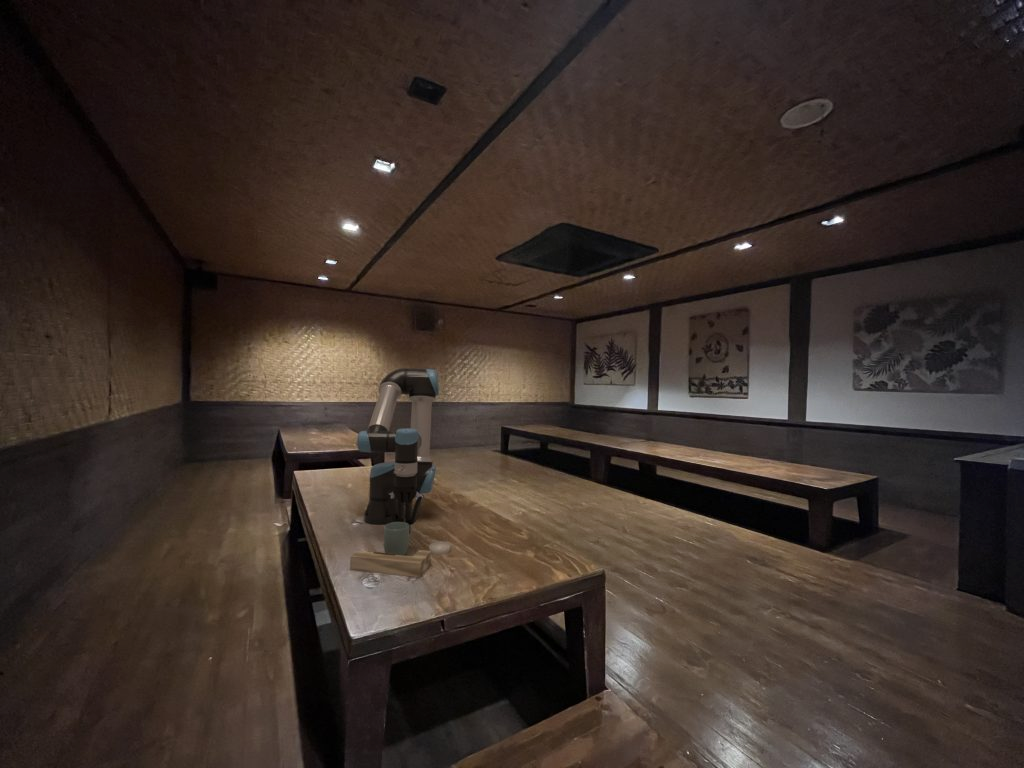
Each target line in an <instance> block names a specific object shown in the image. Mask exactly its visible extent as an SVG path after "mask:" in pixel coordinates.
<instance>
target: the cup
mask: <svg viewBox="0 0 1024 768" xmlns="http://www.w3.org/2000/svg"><path fill="white" fill-rule="evenodd" d="M409 543H410V534H409V524H408V523H406V522H392V523H388V524H384V527H383V550H384V553H392V554H396V555H402V556H406V553H407V552H408V549H409Z"/></svg>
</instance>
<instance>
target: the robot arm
mask: <svg viewBox="0 0 1024 768" xmlns="http://www.w3.org/2000/svg"><path fill="white" fill-rule="evenodd" d="M439 385H440V384H439V376H438V372H437V371H436V370H435V369H430V368H429V369H428V368H407V367H404V368H403V367H402V368H398V369H395V370H393V371H391V372H390V373H388V374H387V375H386V376H385V377H384V378H383V379H382V380H381V382H380V384H379V385H378V386H379V387H378V398H377V400H376V403H375V406H374V409H373V412H372V416H371V418H370V421H369V423H368V427H367V430H361V431H359V433H358V435H357V439H356V446H357V450H358V451H359V452H361V453H394V457H395V458H394V460H393V461H386V462H381V463H380V462H379V463H377V464H374V465H373V466H372V467H371V468H370V472H369V473H370V474H369V496H368V498H369V499H368V504H367V506H366V509H365V512H364V515H363V521H364V522H365V523H368V524H371V525H387V524H389V523H392V522H406V523H408V524H409V535H410V534H411V526H412V525H414V524H415V523H416V522H417V519H418V515H419V511H420V509H421V503H422V501H423V500H424V498H425V495H424V494H430V493H431V492H432V490H433V487H434V483H435V477H436V470H437V469H436V468H437V466H436V465H434V463H433V460H432V459H431V458H430V449H431V448H430V446H431V430H432V429H431V428H432V427H431V426H432V409H433V408H432V407H433V405H432V404H433V403H434V401H436V399H437V398H436V396H437V397H438V396H439V395H440V387H439ZM401 395H408V399H409V400H410V402H411V413H410V414H411V416H410V428H408V427H407V428H398V429H397V430H396V431H391V430H390V428H391V425H392V421H393V416H394V413H395V409H396V405H397V401H398V399H399V398H400V397H401ZM414 500H415V503H414V506H413V509H412V505H413V501H414Z"/></svg>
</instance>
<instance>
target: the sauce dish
mask: <svg viewBox="0 0 1024 768" xmlns="http://www.w3.org/2000/svg"><path fill="white" fill-rule="evenodd" d="M428 548H429V549H428V551H431V555H432V554H433V555H444V554H448V553H450V551H451V543H450V542H449V541H442V540H439V541H438V540H437V541H433V542H432V543H430V544H429V547H428Z"/></svg>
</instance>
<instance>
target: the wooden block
mask: <svg viewBox="0 0 1024 768" xmlns="http://www.w3.org/2000/svg"><path fill="white" fill-rule="evenodd" d="M349 559H350V563H349V570H350V571H357V572H366V573H367V572H368V573H369V572H370V573H377V574H387V575H394V576H395V575H396V576H403V577H404V576H405V577H413V578H414V577H416V578H421V577H422V575H423V574H424V573H425V572H426V570H427V569H428V568H429V567H430V566H431V564H432V553H431V551H429V550H425V549H424V550H421V549H418V550H417V551H416V552H415V554H414V555H412V556H411V555H404V556H402V555H396V554H392V553H385V552H379V551H373V552H372V551H361V550H357V551H355V553H353V554H352V555H350V558H349Z"/></svg>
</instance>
